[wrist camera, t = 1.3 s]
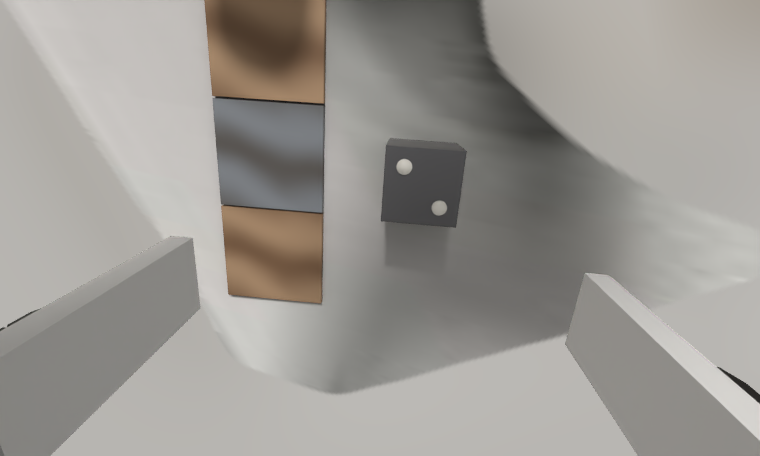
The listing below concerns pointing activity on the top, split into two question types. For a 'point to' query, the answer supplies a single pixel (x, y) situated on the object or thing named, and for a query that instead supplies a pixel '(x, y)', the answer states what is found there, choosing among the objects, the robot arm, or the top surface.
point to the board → (270, 143)
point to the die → (422, 182)
